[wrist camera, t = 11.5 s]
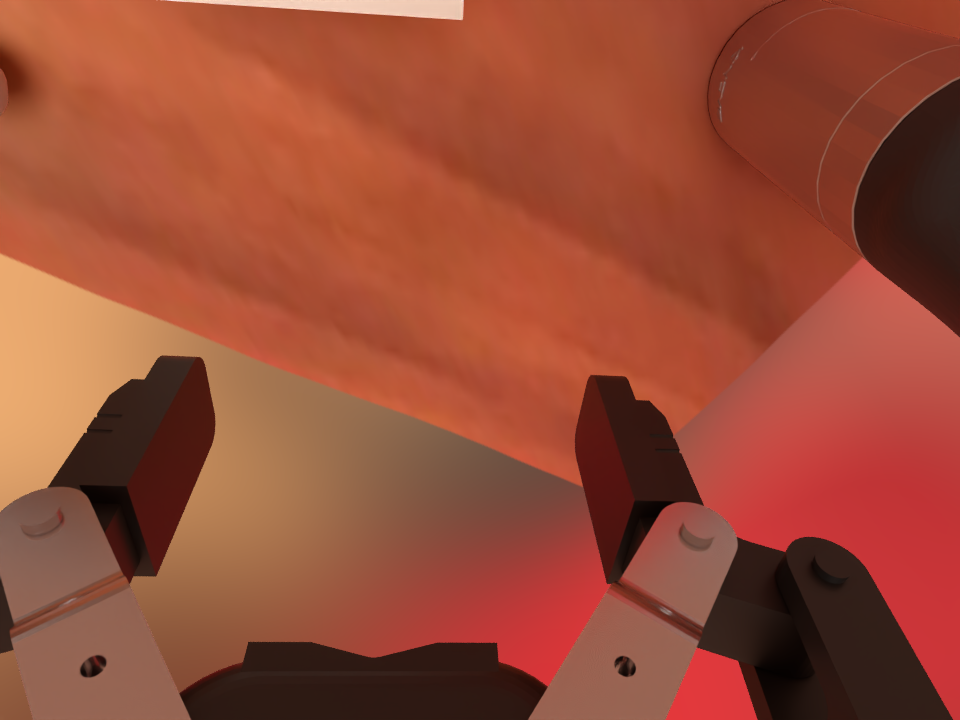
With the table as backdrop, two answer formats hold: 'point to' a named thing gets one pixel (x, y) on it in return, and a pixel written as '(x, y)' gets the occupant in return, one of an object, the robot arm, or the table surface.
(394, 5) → the lid
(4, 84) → the donut
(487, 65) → the table surface
